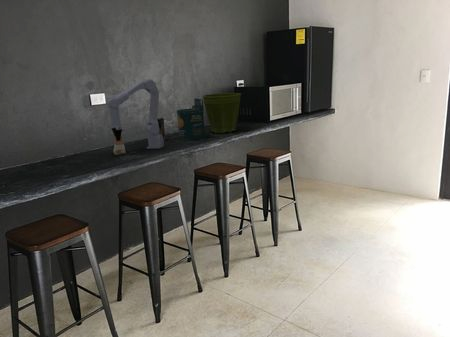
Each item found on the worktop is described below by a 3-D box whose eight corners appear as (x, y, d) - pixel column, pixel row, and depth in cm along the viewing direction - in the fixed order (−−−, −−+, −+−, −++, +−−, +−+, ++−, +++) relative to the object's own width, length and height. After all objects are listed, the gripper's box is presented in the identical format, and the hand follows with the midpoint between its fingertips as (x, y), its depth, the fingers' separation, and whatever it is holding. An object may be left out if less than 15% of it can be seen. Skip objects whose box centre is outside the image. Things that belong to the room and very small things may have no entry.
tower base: (124, 151, 244) (123, 147, 243) (125, 153, 238) (125, 149, 237) (113, 153, 241) (113, 148, 241) (115, 155, 236) (114, 150, 235)
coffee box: (161, 142, 268) (159, 119, 264) (152, 142, 269) (150, 119, 265) (165, 139, 276) (163, 117, 272) (157, 139, 278) (155, 117, 274)
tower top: (123, 147, 242) (122, 143, 241) (124, 149, 237) (124, 144, 237) (114, 148, 240) (113, 144, 239) (115, 150, 235) (115, 145, 234)
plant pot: (219, 127, 318) (217, 93, 311) (249, 129, 301) (248, 93, 293) (197, 133, 295) (194, 96, 288) (228, 136, 278) (226, 96, 270)
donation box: (205, 138, 272) (203, 99, 265) (184, 141, 266) (181, 101, 258) (197, 135, 286) (194, 98, 279) (177, 138, 280) (173, 100, 272)
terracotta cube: (122, 143, 241) (121, 135, 239) (123, 144, 237) (122, 136, 235) (114, 144, 239) (113, 136, 238) (115, 145, 235) (114, 137, 234)
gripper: (107, 117, 239) (110, 138, 242) (109, 120, 226) (112, 142, 229) (118, 116, 241) (121, 137, 245) (121, 118, 228) (124, 141, 232)
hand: (117, 139), depth 237 cm, fingers open, 7 cm apart
